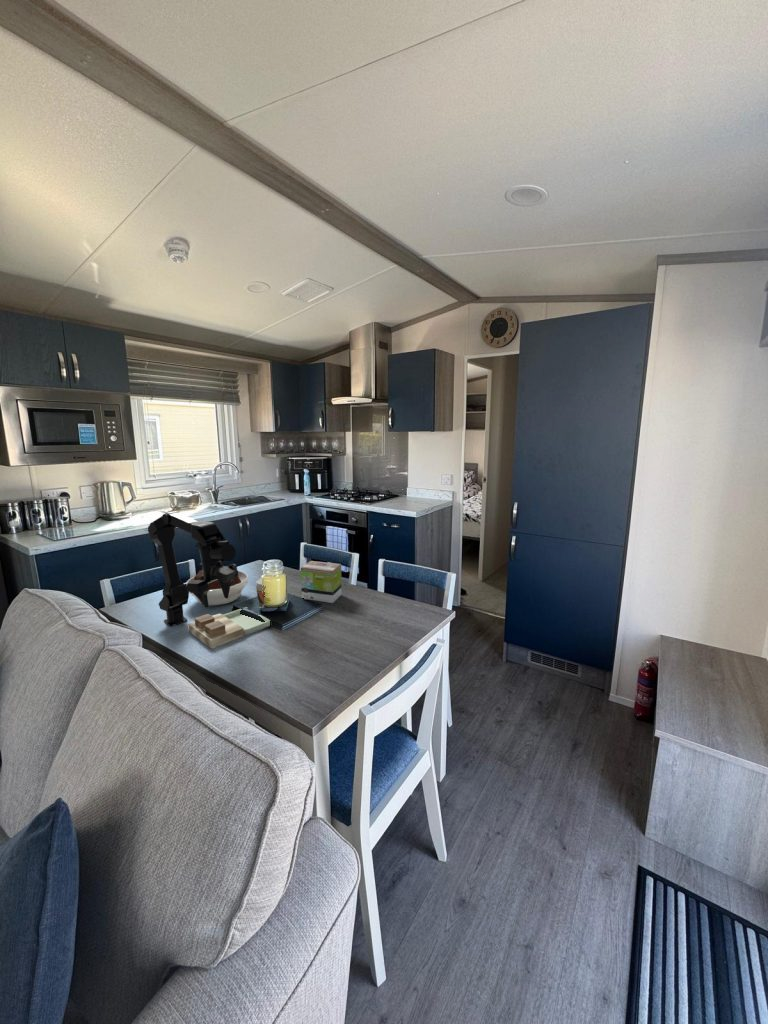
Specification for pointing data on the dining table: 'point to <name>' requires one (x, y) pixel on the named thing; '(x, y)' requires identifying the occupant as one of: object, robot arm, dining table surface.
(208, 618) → the walnut tile
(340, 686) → the dining table surface
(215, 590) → the white serving bowl
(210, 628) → the walnut tile
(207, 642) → the birch bench plate
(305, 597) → the tea box
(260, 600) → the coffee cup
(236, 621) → the tray
